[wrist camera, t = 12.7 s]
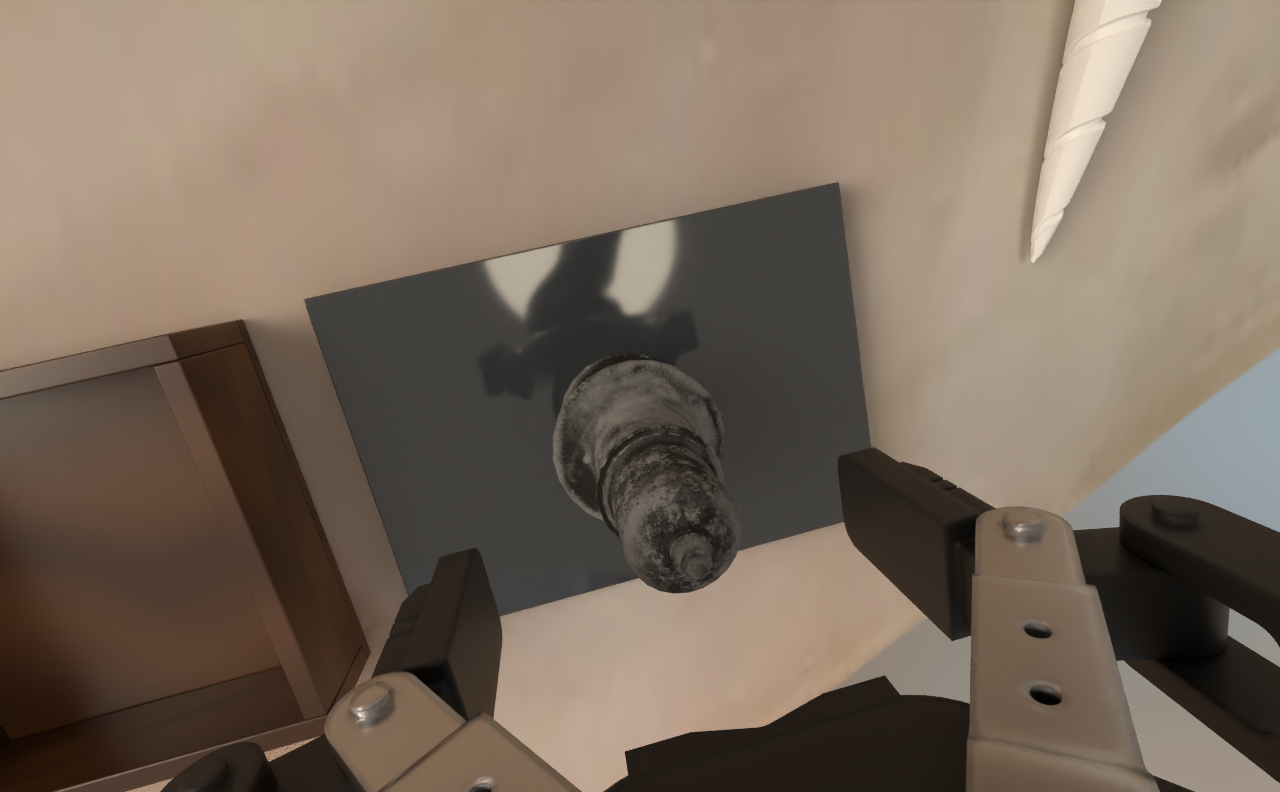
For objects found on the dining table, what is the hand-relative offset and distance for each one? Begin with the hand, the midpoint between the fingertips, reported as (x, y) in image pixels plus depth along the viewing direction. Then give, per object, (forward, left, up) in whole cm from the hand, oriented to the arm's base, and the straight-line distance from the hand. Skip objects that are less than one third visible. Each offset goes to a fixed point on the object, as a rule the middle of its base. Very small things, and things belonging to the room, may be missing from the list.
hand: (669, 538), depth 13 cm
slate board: (0, 0, -12) cm, 12 cm away
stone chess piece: (0, 0, -11) cm, 11 cm away
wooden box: (+1, -20, -12) cm, 23 cm away
